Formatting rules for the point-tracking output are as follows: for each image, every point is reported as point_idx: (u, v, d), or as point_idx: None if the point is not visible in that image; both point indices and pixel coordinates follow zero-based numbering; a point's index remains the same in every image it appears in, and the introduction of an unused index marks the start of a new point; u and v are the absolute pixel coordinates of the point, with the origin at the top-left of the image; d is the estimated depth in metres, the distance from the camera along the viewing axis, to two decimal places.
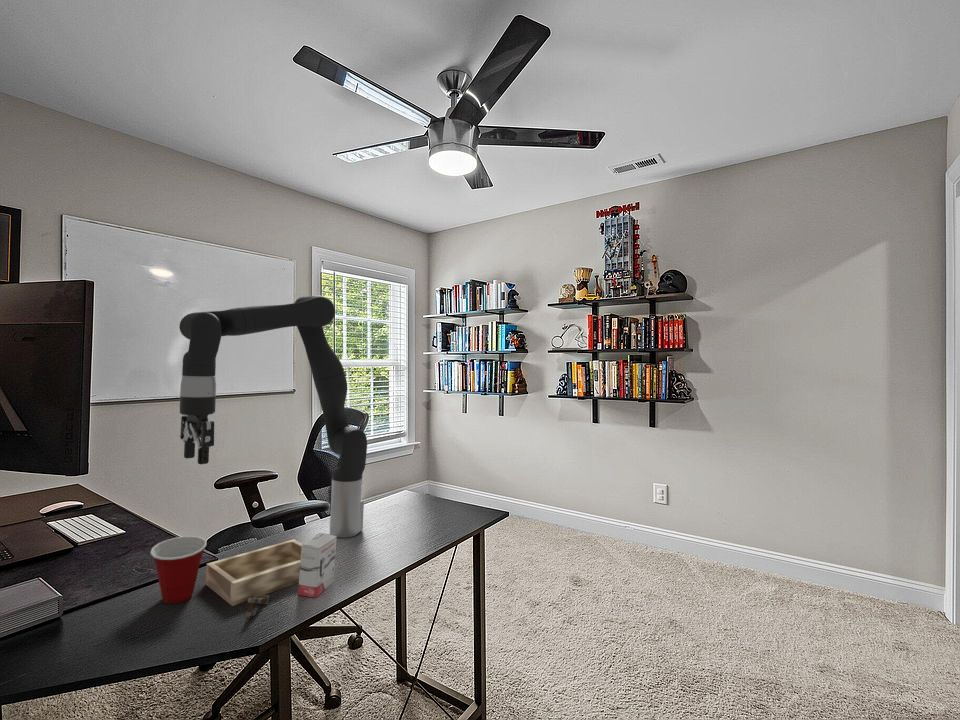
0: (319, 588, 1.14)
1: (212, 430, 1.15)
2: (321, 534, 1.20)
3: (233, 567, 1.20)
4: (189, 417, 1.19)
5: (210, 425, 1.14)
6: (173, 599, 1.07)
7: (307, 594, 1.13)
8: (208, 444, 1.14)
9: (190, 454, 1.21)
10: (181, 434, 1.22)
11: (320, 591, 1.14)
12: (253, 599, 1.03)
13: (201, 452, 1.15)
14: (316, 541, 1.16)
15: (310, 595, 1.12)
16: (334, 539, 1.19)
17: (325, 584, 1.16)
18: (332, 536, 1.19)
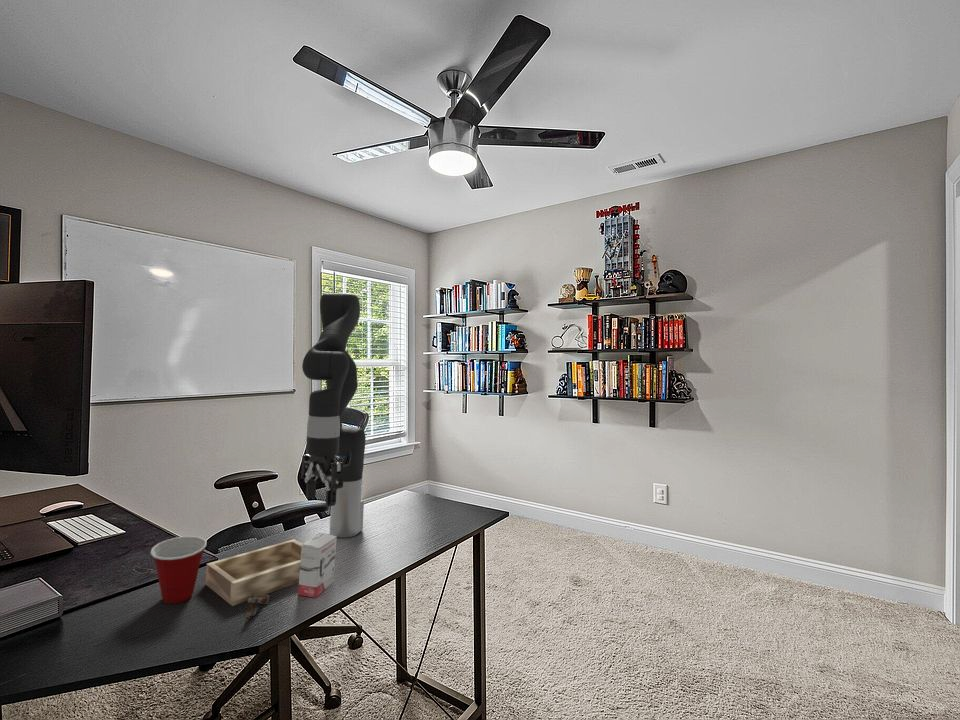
0: (319, 588, 1.14)
1: (341, 472, 1.13)
2: (321, 534, 1.20)
3: (233, 567, 1.20)
4: (313, 457, 1.17)
5: (340, 467, 1.13)
6: (173, 599, 1.07)
7: (307, 594, 1.13)
8: (338, 486, 1.12)
9: (312, 494, 1.19)
10: (302, 473, 1.20)
11: (320, 591, 1.14)
12: (253, 599, 1.03)
13: (330, 494, 1.13)
14: (316, 541, 1.16)
15: (310, 595, 1.12)
16: (335, 539, 1.19)
17: (325, 584, 1.16)
18: (332, 536, 1.19)
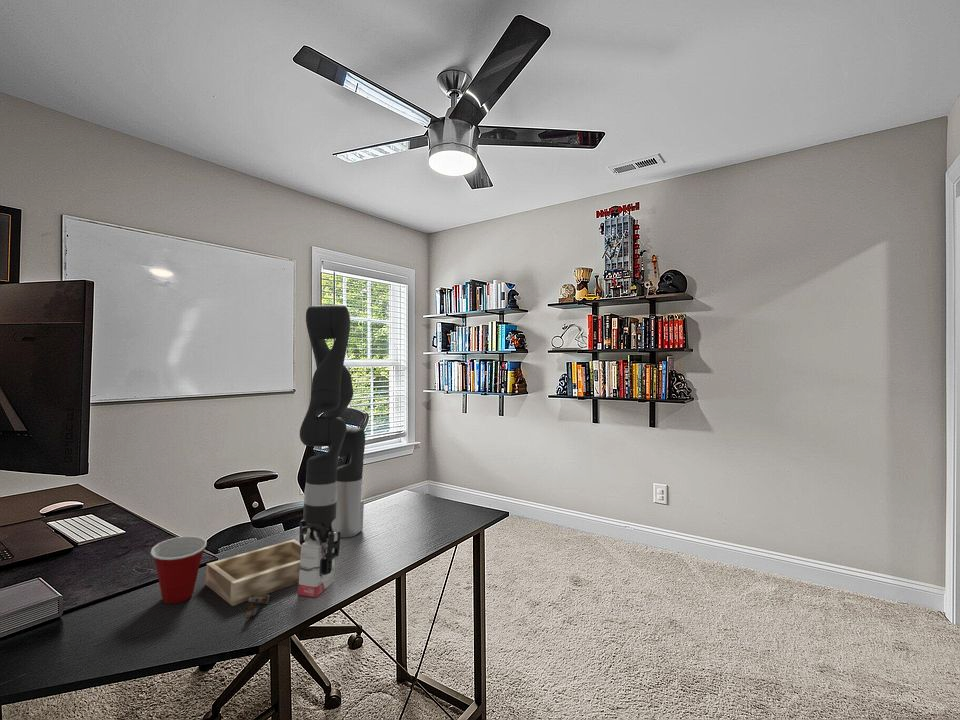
0: (319, 588, 1.14)
1: (338, 541, 1.13)
2: None
3: (233, 567, 1.20)
4: None
5: (337, 537, 1.13)
6: (173, 599, 1.07)
7: (307, 594, 1.13)
8: (334, 555, 1.13)
9: None
10: (301, 540, 1.20)
11: (320, 591, 1.14)
12: (253, 598, 1.03)
13: (326, 563, 1.13)
14: None
15: (310, 595, 1.12)
16: None
17: (325, 584, 1.16)
18: None
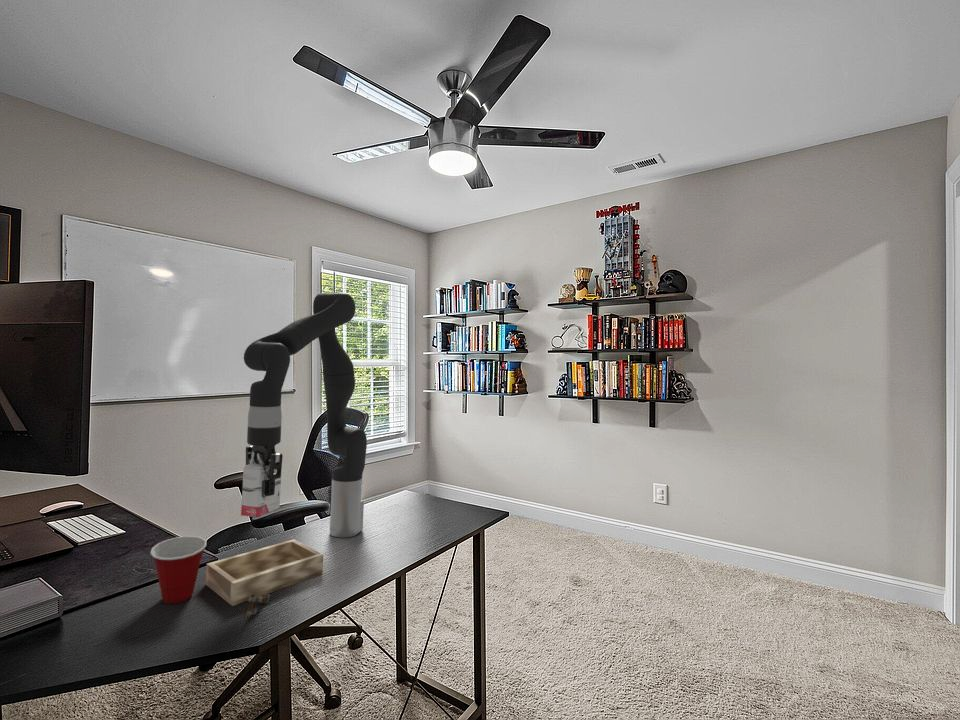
0: (262, 509, 1.16)
1: (280, 463, 1.15)
2: None
3: (233, 567, 1.20)
4: (255, 447, 1.19)
5: (279, 458, 1.15)
6: (173, 599, 1.07)
7: (249, 514, 1.15)
8: (275, 476, 1.15)
9: None
10: None
11: (263, 512, 1.16)
12: (254, 598, 1.04)
13: (268, 484, 1.16)
14: (259, 464, 1.18)
15: (252, 515, 1.15)
16: None
17: (268, 507, 1.18)
18: None
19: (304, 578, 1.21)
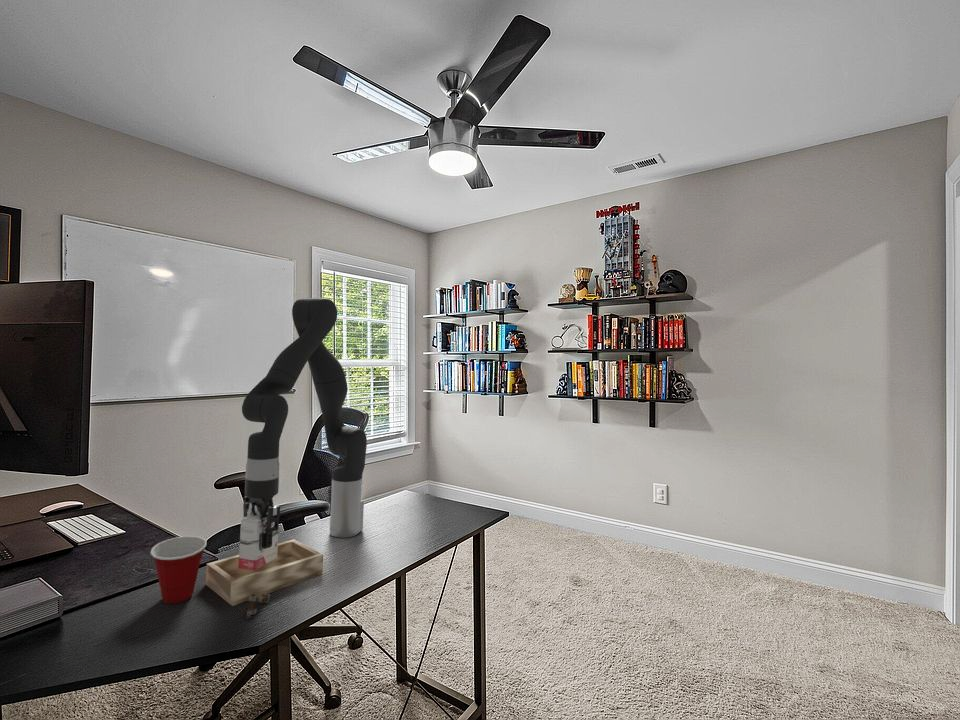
0: (259, 562, 1.16)
1: (277, 516, 1.15)
2: None
3: (233, 567, 1.20)
4: (253, 498, 1.19)
5: (276, 511, 1.15)
6: (173, 599, 1.07)
7: (247, 567, 1.15)
8: (273, 529, 1.15)
9: None
10: (244, 515, 1.22)
11: (260, 565, 1.16)
12: (254, 598, 1.04)
13: (265, 537, 1.16)
14: None
15: (249, 568, 1.15)
16: None
17: (266, 558, 1.18)
18: None
19: (304, 578, 1.21)
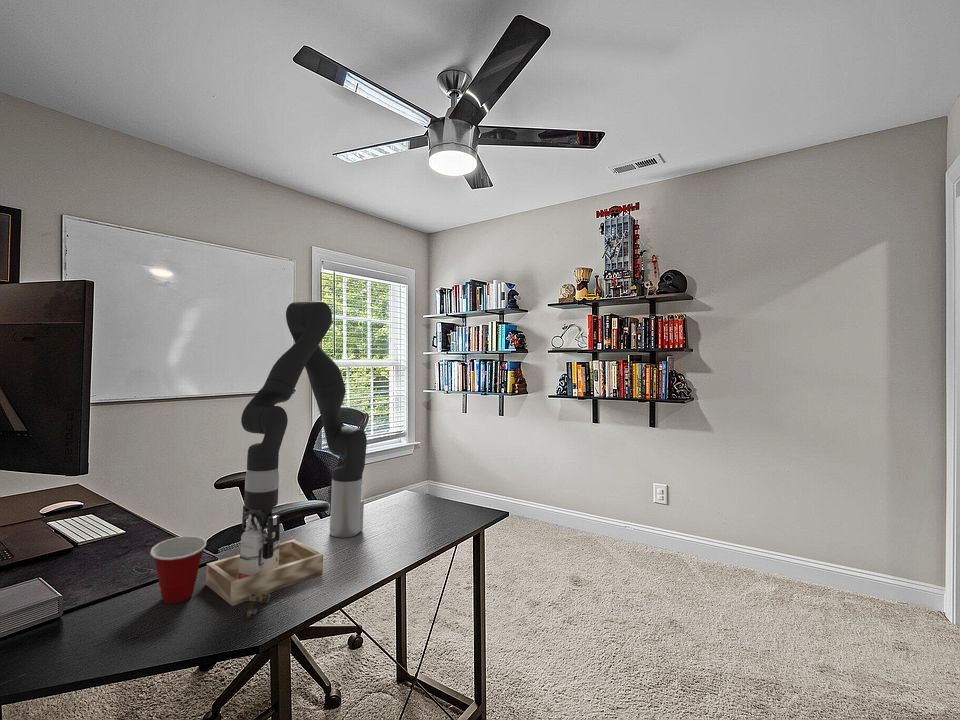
0: None
1: (278, 525, 1.15)
2: None
3: (233, 567, 1.20)
4: None
5: (276, 520, 1.15)
6: (173, 599, 1.07)
7: None
8: (274, 540, 1.14)
9: None
10: (243, 524, 1.22)
11: None
12: (254, 598, 1.04)
13: (267, 547, 1.15)
14: (257, 531, 1.18)
15: None
16: None
17: None
18: None
19: (304, 578, 1.21)
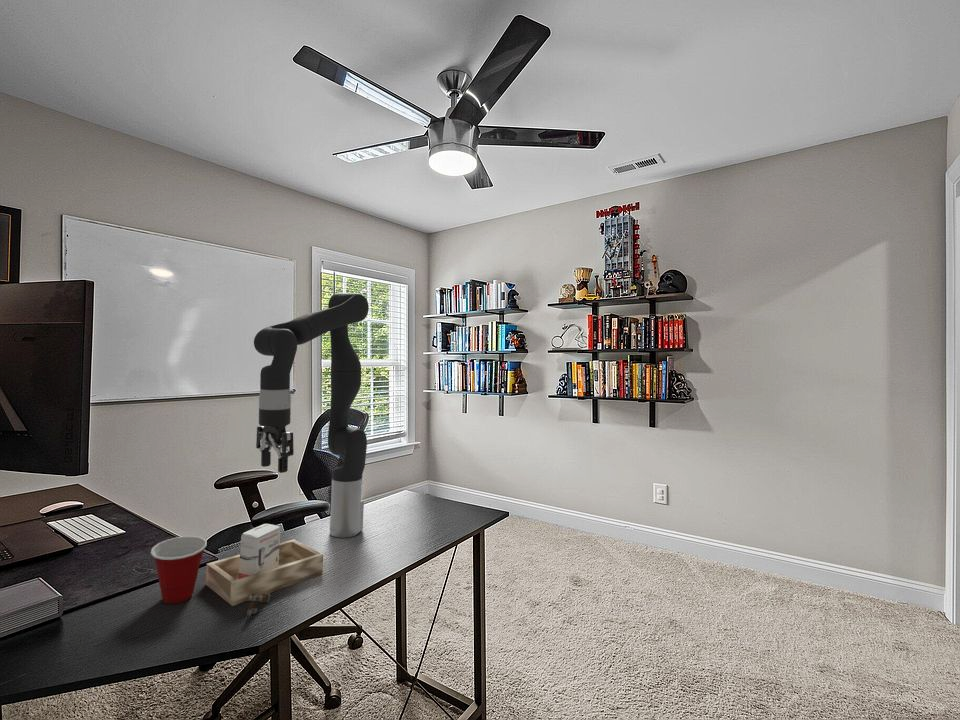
0: None
1: (291, 440, 1.21)
2: (266, 524, 1.22)
3: (233, 567, 1.20)
4: (266, 428, 1.25)
5: (290, 436, 1.21)
6: (173, 599, 1.07)
7: None
8: (288, 454, 1.21)
9: (267, 462, 1.28)
10: (257, 444, 1.28)
11: None
12: (254, 597, 1.04)
13: (281, 461, 1.22)
14: (257, 531, 1.18)
15: None
16: (278, 530, 1.21)
17: None
18: (276, 527, 1.21)
19: (304, 578, 1.21)
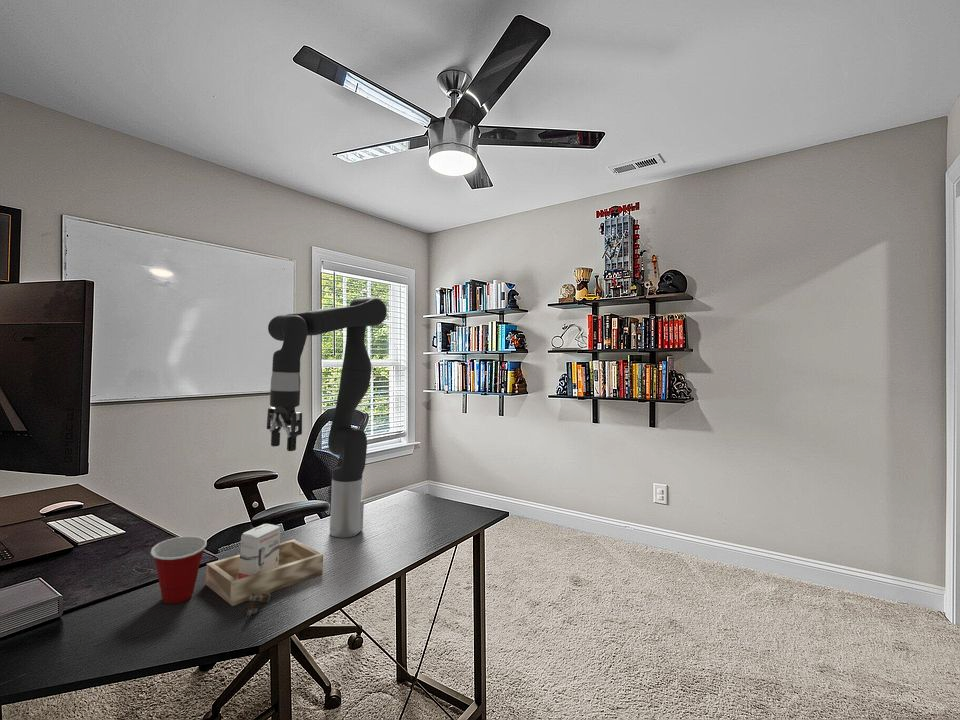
0: None
1: (300, 420, 1.28)
2: (266, 524, 1.22)
3: (233, 567, 1.20)
4: (277, 409, 1.32)
5: (299, 416, 1.28)
6: (173, 599, 1.07)
7: None
8: (297, 433, 1.28)
9: (276, 443, 1.35)
10: (268, 425, 1.35)
11: None
12: (254, 597, 1.04)
13: (290, 440, 1.28)
14: (257, 531, 1.18)
15: None
16: (278, 530, 1.21)
17: None
18: (276, 527, 1.21)
19: (304, 578, 1.21)
